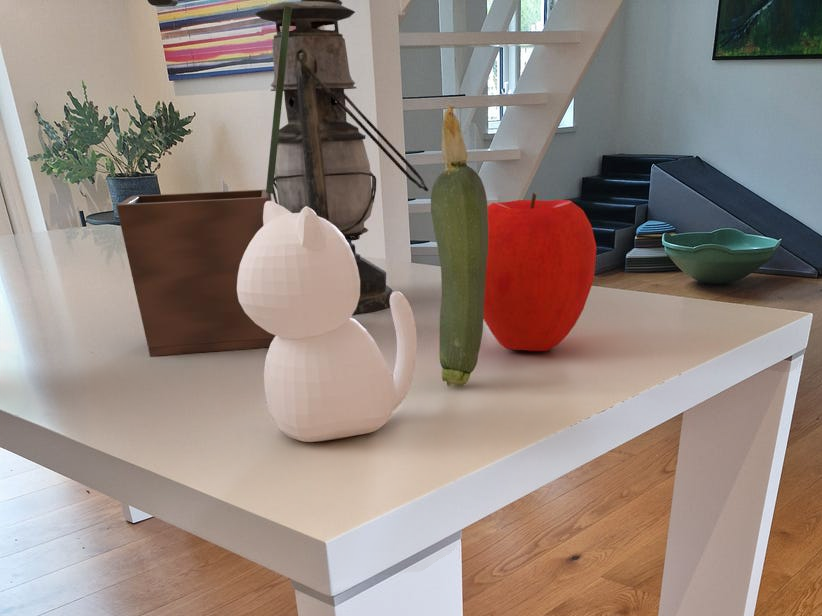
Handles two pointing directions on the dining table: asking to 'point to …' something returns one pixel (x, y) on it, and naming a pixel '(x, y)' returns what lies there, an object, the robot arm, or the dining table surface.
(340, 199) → the lantern
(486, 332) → the dining table surface
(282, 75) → the lid
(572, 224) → the apple
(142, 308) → the brown wooden bin
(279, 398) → the cat figurine
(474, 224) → the vegetable
